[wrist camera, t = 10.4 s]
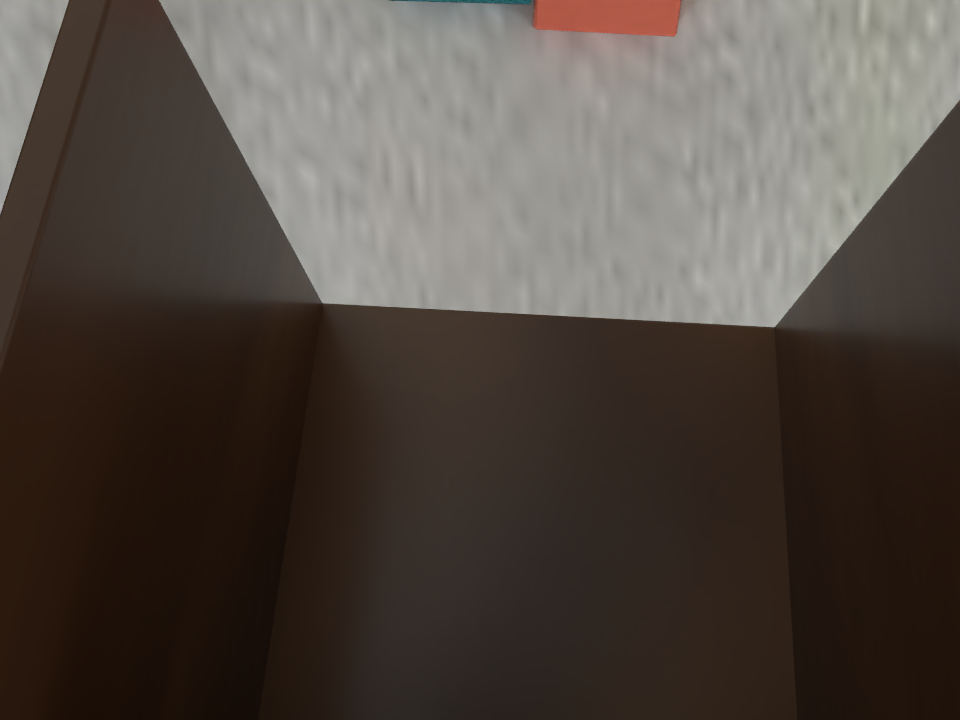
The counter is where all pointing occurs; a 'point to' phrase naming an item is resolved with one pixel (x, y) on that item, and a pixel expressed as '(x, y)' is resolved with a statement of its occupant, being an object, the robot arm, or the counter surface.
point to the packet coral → (608, 16)
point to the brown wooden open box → (446, 458)
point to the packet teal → (478, 1)
